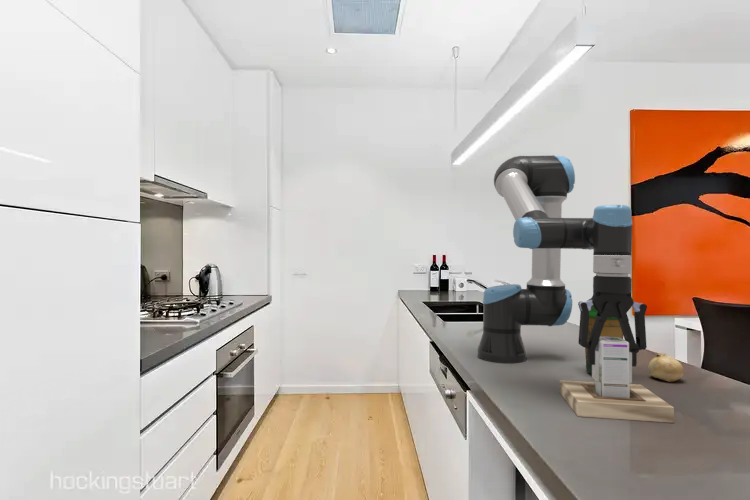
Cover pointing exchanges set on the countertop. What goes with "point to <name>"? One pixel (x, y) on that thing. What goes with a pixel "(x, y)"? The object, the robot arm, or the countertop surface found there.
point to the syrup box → (613, 368)
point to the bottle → (603, 330)
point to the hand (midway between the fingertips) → (611, 379)
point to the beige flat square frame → (616, 403)
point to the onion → (665, 368)
